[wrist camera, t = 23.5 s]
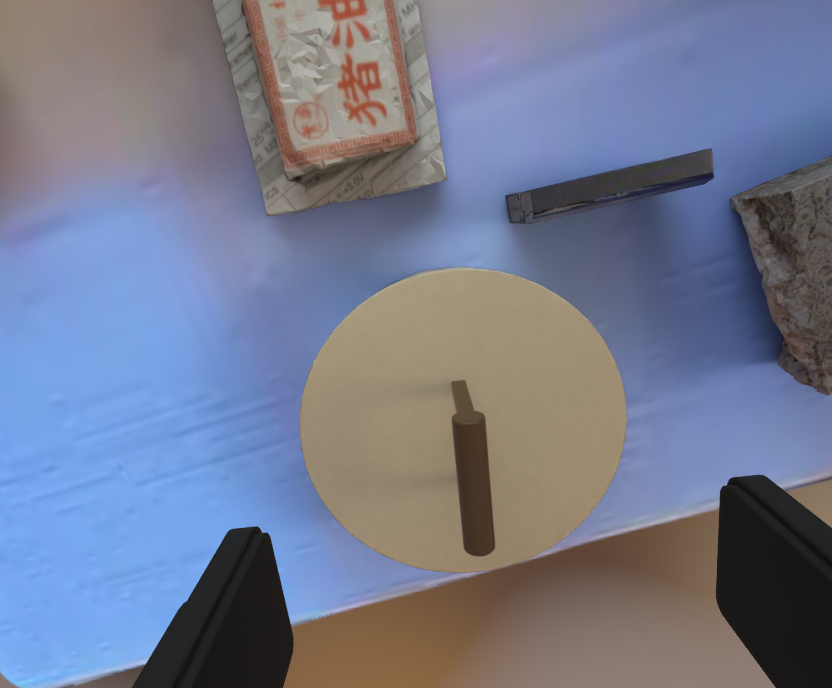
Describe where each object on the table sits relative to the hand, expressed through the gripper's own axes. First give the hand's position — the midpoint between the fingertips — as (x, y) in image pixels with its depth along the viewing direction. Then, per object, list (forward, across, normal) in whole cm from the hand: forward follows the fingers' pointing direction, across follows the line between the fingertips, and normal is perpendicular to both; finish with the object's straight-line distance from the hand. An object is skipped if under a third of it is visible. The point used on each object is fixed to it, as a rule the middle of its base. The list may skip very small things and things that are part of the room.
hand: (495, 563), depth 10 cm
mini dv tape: (+21, -8, -7) cm, 24 cm away
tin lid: (+15, 0, +4) cm, 16 cm away
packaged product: (+21, +5, -17) cm, 27 cm away
